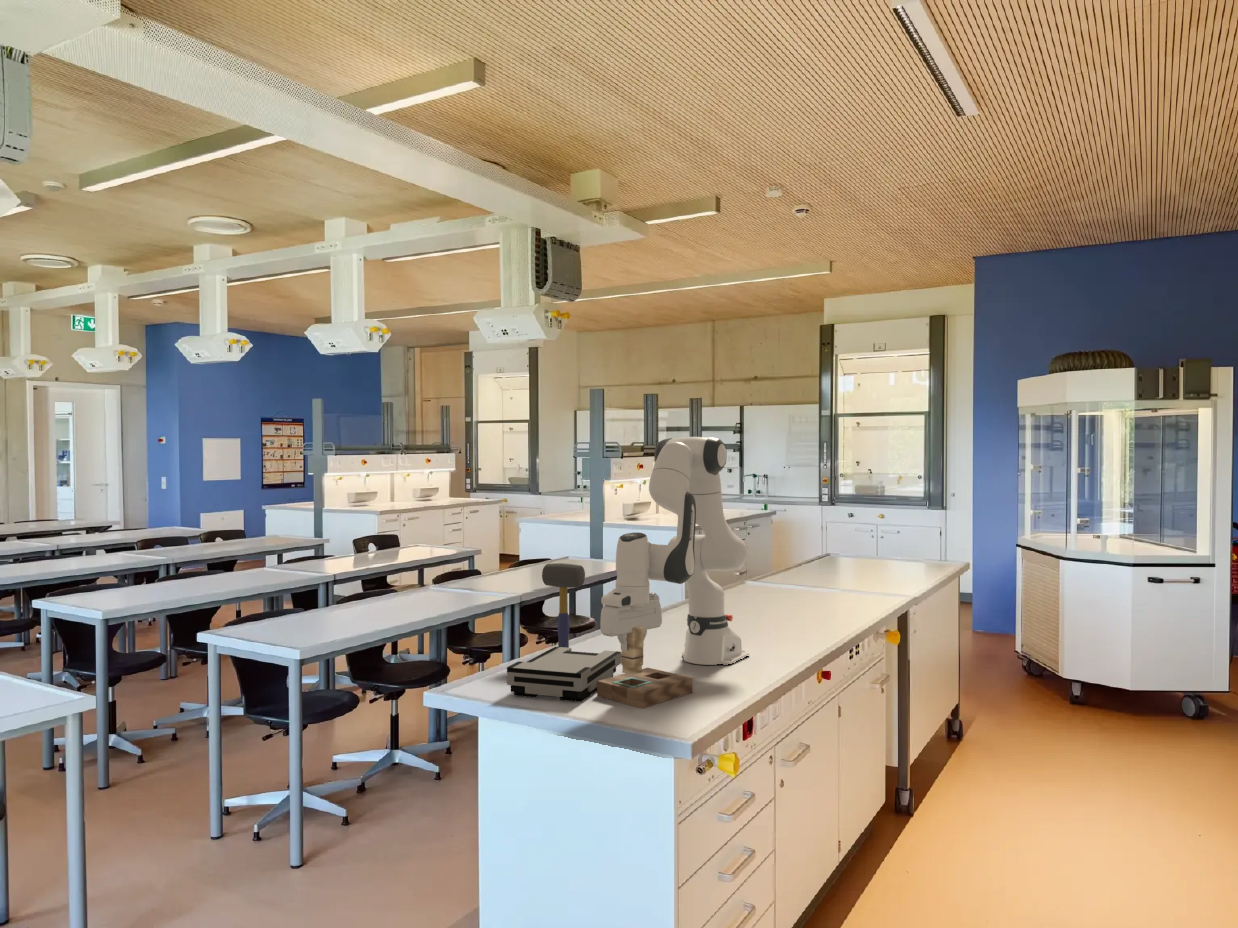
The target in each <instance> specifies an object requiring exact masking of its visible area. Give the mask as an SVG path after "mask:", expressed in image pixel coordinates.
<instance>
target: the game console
mask: <svg viewBox="0 0 1238 928" xmlns="http://www.w3.org/2000/svg"><path fill="white" fill-rule="evenodd" d="M621 654H622V651H620V650H619V651H616V650H603V651H601V652H598V653H597V652H587V651H586V652H585V651H583V652H582V651H575V650H574V651H572V647H569V648H566V647H558V646H554V647H552V648H550V649H549V650H545V652H543V653H541V654H539V655H536V656H535V657H533V658H531V659H529V660H527V661H518V660H517V662H515V663H513V664H511V665H508V666H507V667H506V685H507V686H510V692H511V693H513V696H514V695H517V696H516V697H524V696H526V698H537V697H538V696H551V697H559V700H560V701H565V700H566V702H567V701H568V702H575V703H576V702H577V703H583V702H584V701H585V700H586V699H588V698H589V697H591V696H592V695H594V693H596V692H597V681H599V680H603V679H606V678H610V677H614V674H615V673H616V672H617V667H619V666H620V665H621ZM591 694H592V695H591ZM590 695H591V696H590Z"/></svg>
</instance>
